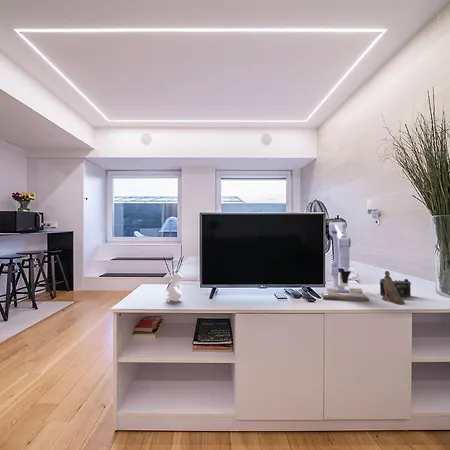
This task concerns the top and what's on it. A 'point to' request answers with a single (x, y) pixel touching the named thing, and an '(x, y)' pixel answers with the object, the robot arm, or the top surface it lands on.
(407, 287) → the camera
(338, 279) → the block
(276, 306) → the top surface
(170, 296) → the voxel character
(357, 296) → the rail board
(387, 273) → the brown carved statuette
